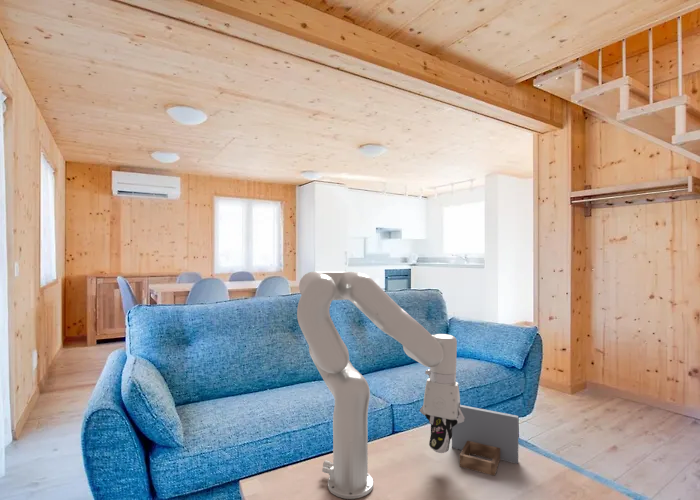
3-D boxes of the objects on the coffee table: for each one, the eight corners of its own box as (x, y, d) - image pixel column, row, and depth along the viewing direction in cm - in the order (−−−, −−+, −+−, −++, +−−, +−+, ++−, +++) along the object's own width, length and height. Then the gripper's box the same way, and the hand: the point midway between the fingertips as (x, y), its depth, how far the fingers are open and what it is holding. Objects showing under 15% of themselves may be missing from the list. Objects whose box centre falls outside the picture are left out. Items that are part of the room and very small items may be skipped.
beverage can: (449, 456, 115) (456, 417, 114) (429, 452, 116) (436, 413, 115) (446, 445, 121) (453, 408, 120) (427, 441, 122) (434, 404, 121)
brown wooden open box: (459, 466, 119) (459, 454, 119) (467, 451, 128) (467, 440, 128) (494, 475, 114) (494, 463, 114) (500, 459, 123) (500, 448, 123)
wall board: (451, 447, 130) (451, 405, 130) (453, 445, 132) (453, 403, 131) (517, 463, 120) (517, 417, 120) (518, 461, 122) (518, 415, 122)
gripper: (412, 375, 119) (410, 436, 119) (468, 385, 111) (466, 451, 111) (420, 368, 125) (418, 427, 125) (473, 378, 117) (472, 440, 117)
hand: (441, 438), depth 118 cm, fingers closed on beverage can, 3 cm apart
